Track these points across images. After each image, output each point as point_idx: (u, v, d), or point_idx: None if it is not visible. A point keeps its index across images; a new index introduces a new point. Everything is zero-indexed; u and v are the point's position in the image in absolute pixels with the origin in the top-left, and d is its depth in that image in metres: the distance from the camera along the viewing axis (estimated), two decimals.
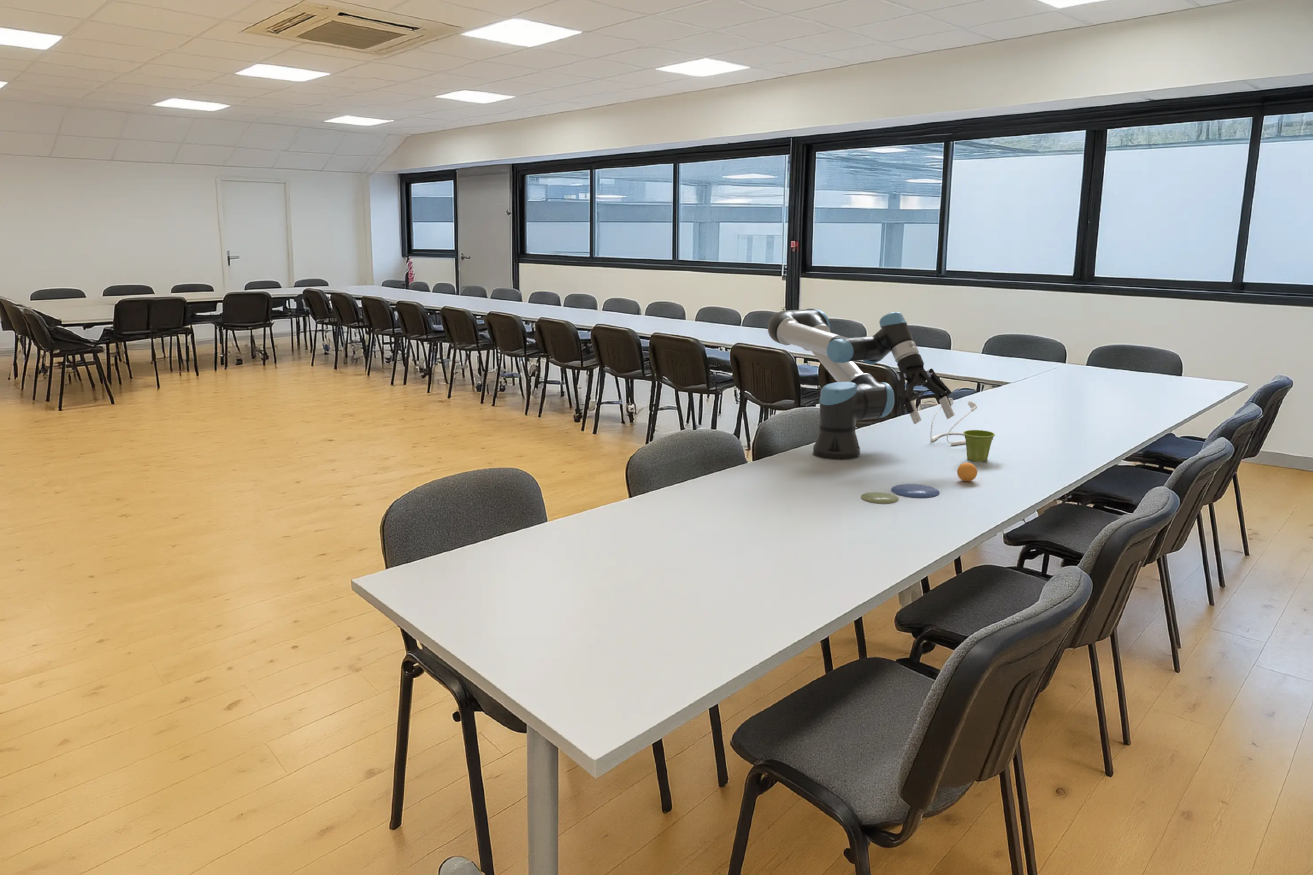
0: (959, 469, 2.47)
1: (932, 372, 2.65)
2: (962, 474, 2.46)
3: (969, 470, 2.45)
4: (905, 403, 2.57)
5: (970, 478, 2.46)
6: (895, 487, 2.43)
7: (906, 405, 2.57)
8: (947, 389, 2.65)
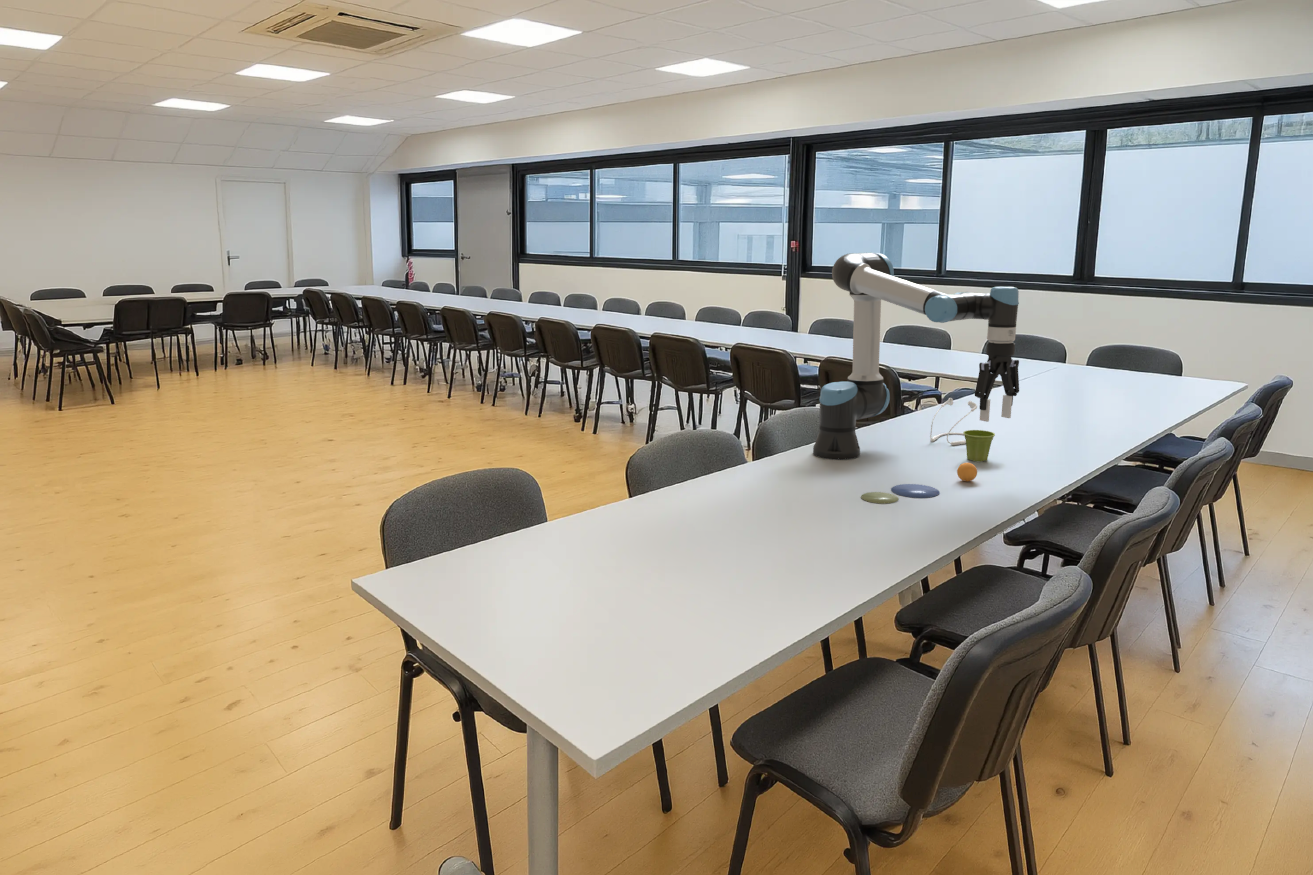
0: (959, 469, 2.47)
1: (1016, 364, 2.47)
2: (962, 474, 2.46)
3: (969, 470, 2.45)
4: (981, 399, 2.45)
5: (970, 478, 2.46)
6: (895, 487, 2.43)
7: (981, 401, 2.45)
8: (1017, 387, 2.49)
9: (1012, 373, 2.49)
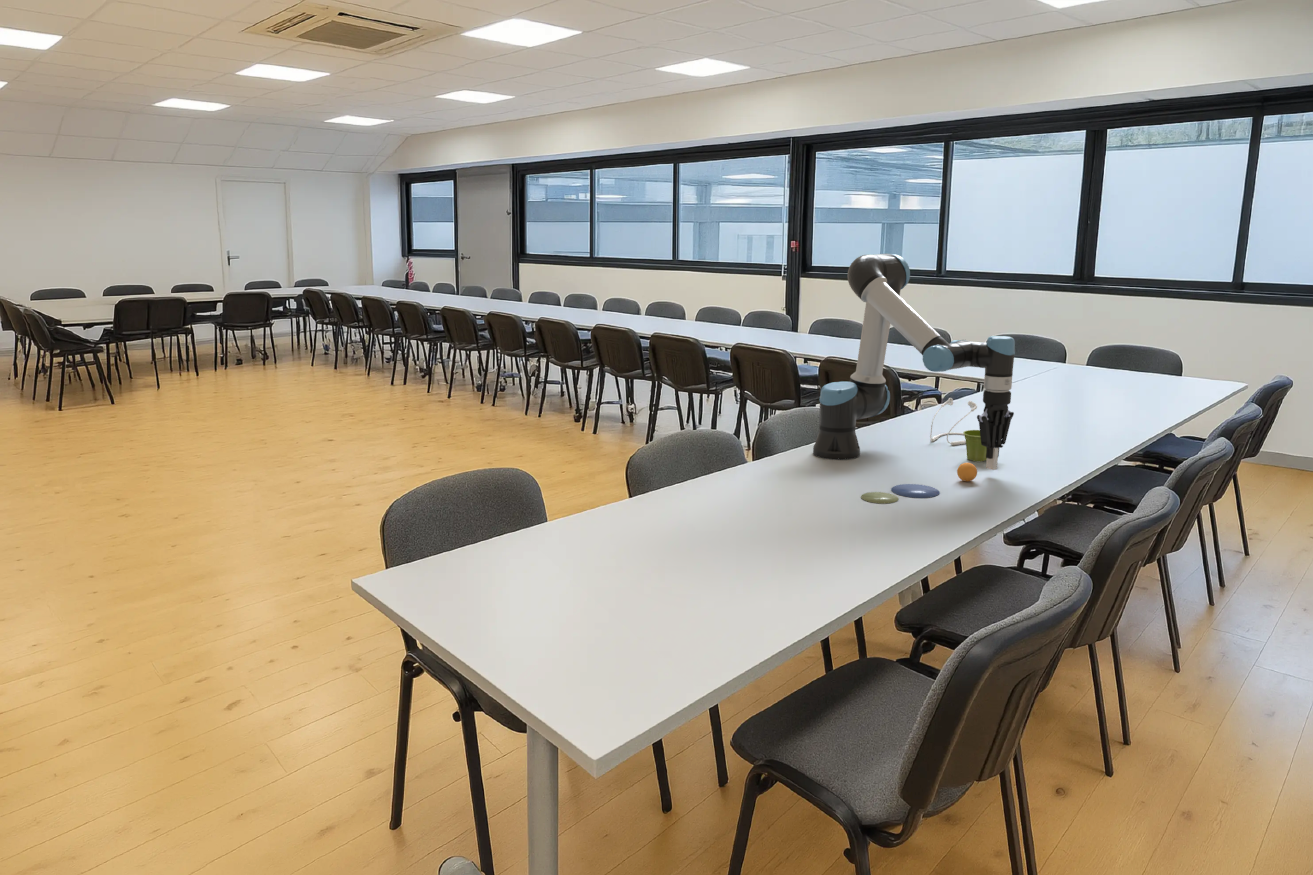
0: (959, 469, 2.47)
1: (1010, 415, 2.50)
2: (962, 474, 2.46)
3: (969, 470, 2.45)
4: (988, 448, 2.50)
5: (970, 478, 2.46)
6: (895, 487, 2.43)
7: (988, 450, 2.50)
8: (1004, 439, 2.51)
9: (1004, 423, 2.51)
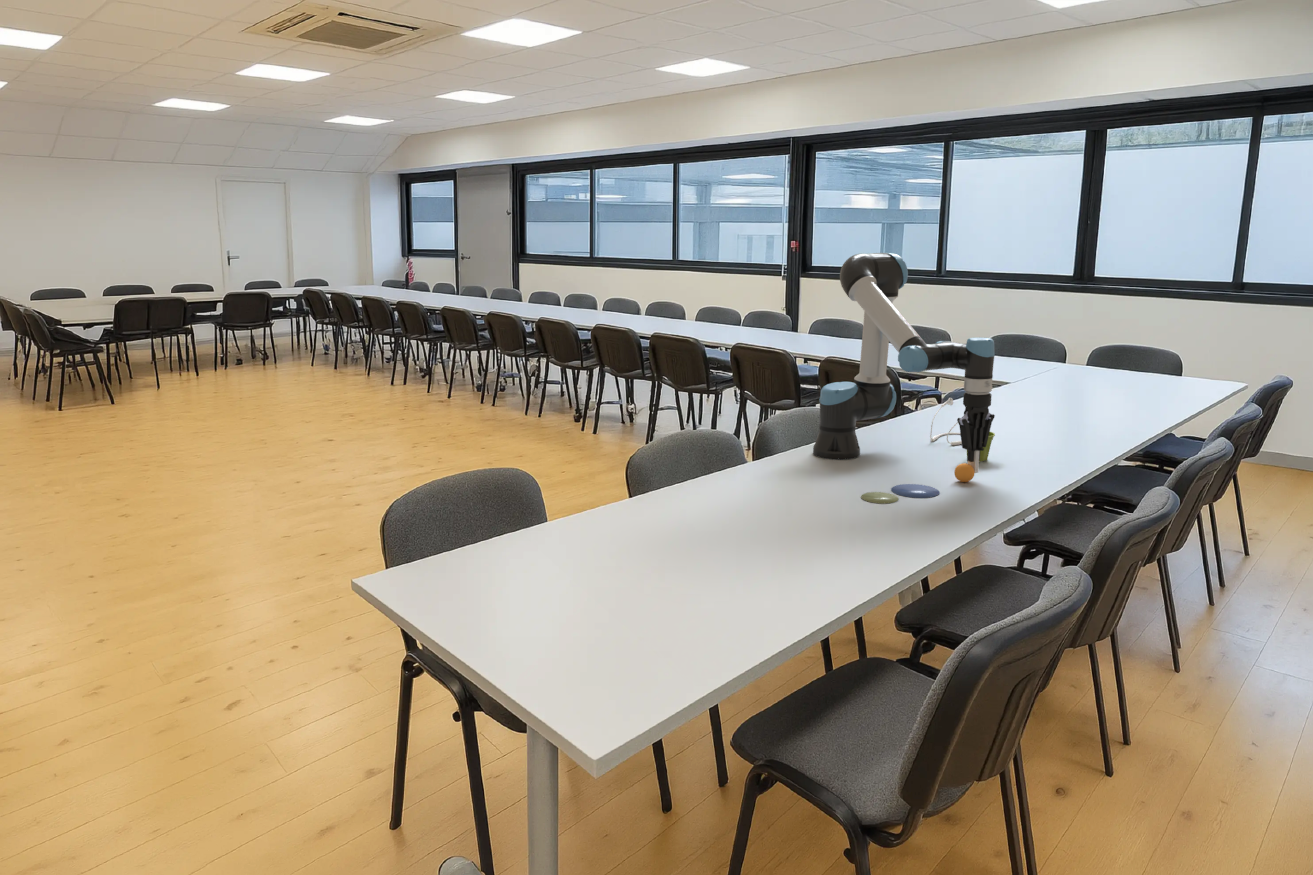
0: (956, 472, 2.47)
1: (991, 418, 2.47)
2: (960, 476, 2.46)
3: (965, 472, 2.45)
4: (969, 451, 2.47)
5: (968, 479, 2.46)
6: (895, 487, 2.43)
7: (969, 453, 2.47)
8: (985, 441, 2.47)
9: (985, 426, 2.48)
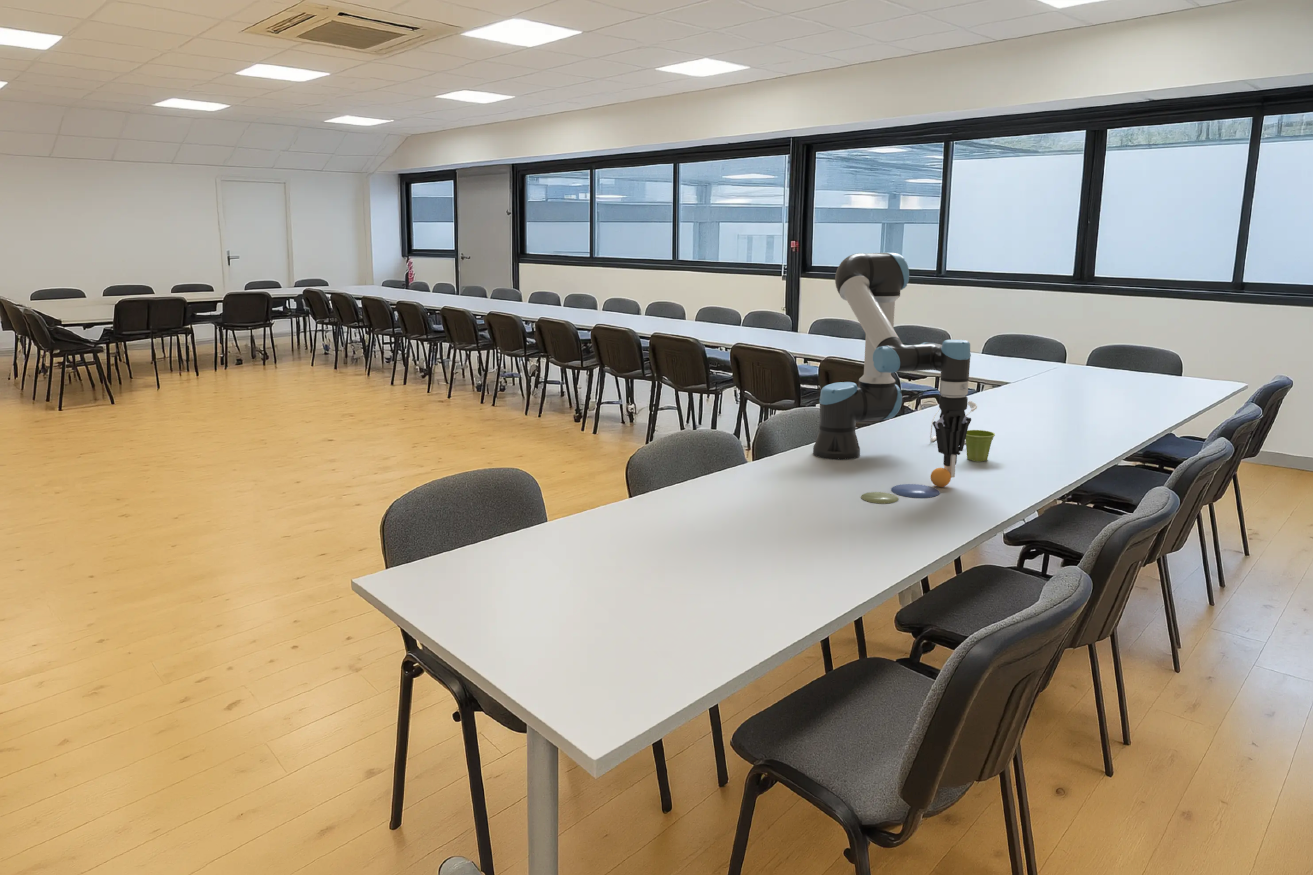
0: (932, 481, 2.43)
1: (968, 421, 2.42)
2: (937, 485, 2.42)
3: (941, 480, 2.40)
4: (945, 455, 2.42)
5: (946, 484, 2.42)
6: (895, 487, 2.43)
7: (945, 457, 2.42)
8: (962, 445, 2.43)
9: (961, 429, 2.43)
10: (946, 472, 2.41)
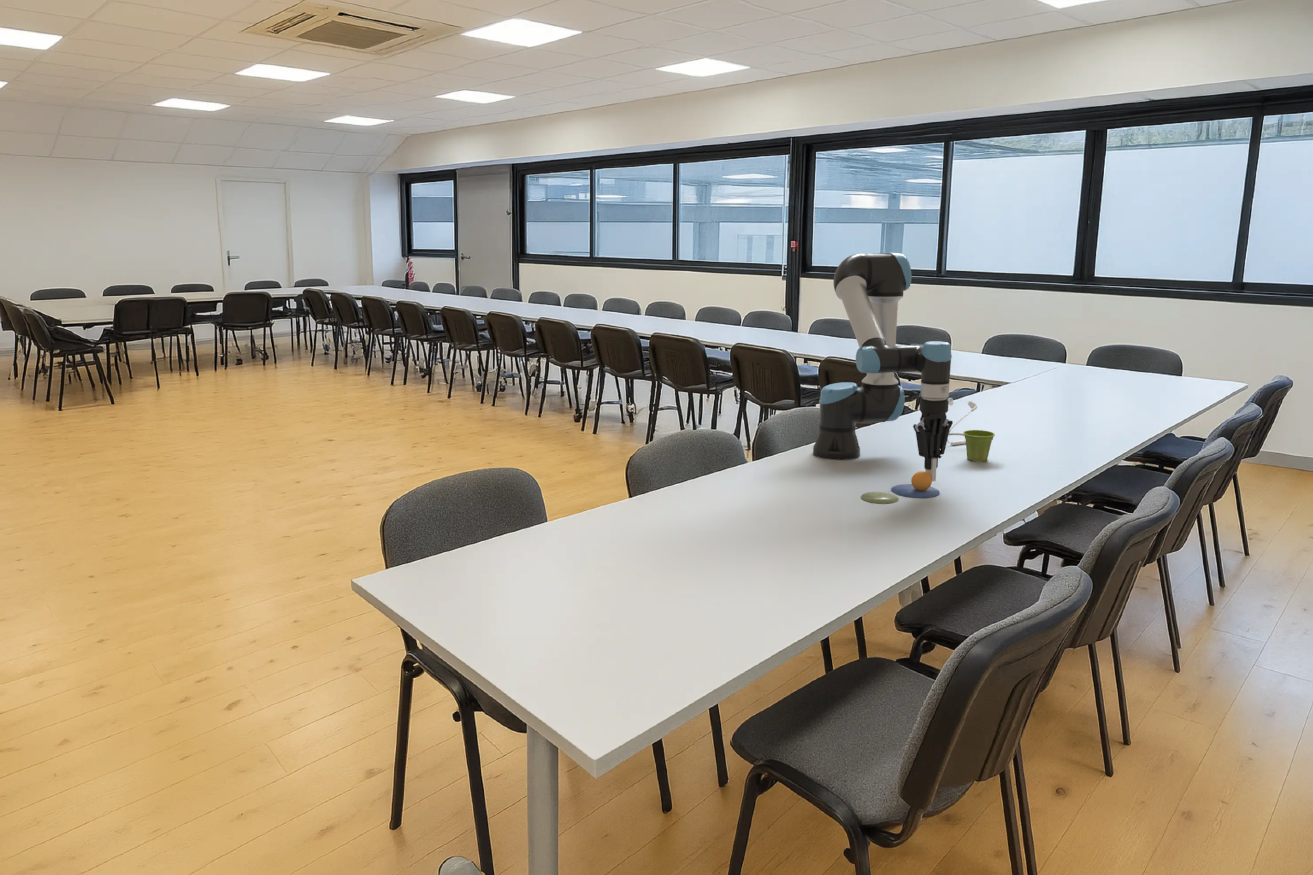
0: (913, 485, 2.39)
1: (949, 424, 2.39)
2: (919, 489, 2.39)
3: (921, 485, 2.37)
4: (926, 458, 2.39)
5: None
6: (895, 487, 2.43)
7: (926, 461, 2.39)
8: (943, 449, 2.40)
9: (942, 433, 2.40)
10: (926, 476, 2.37)
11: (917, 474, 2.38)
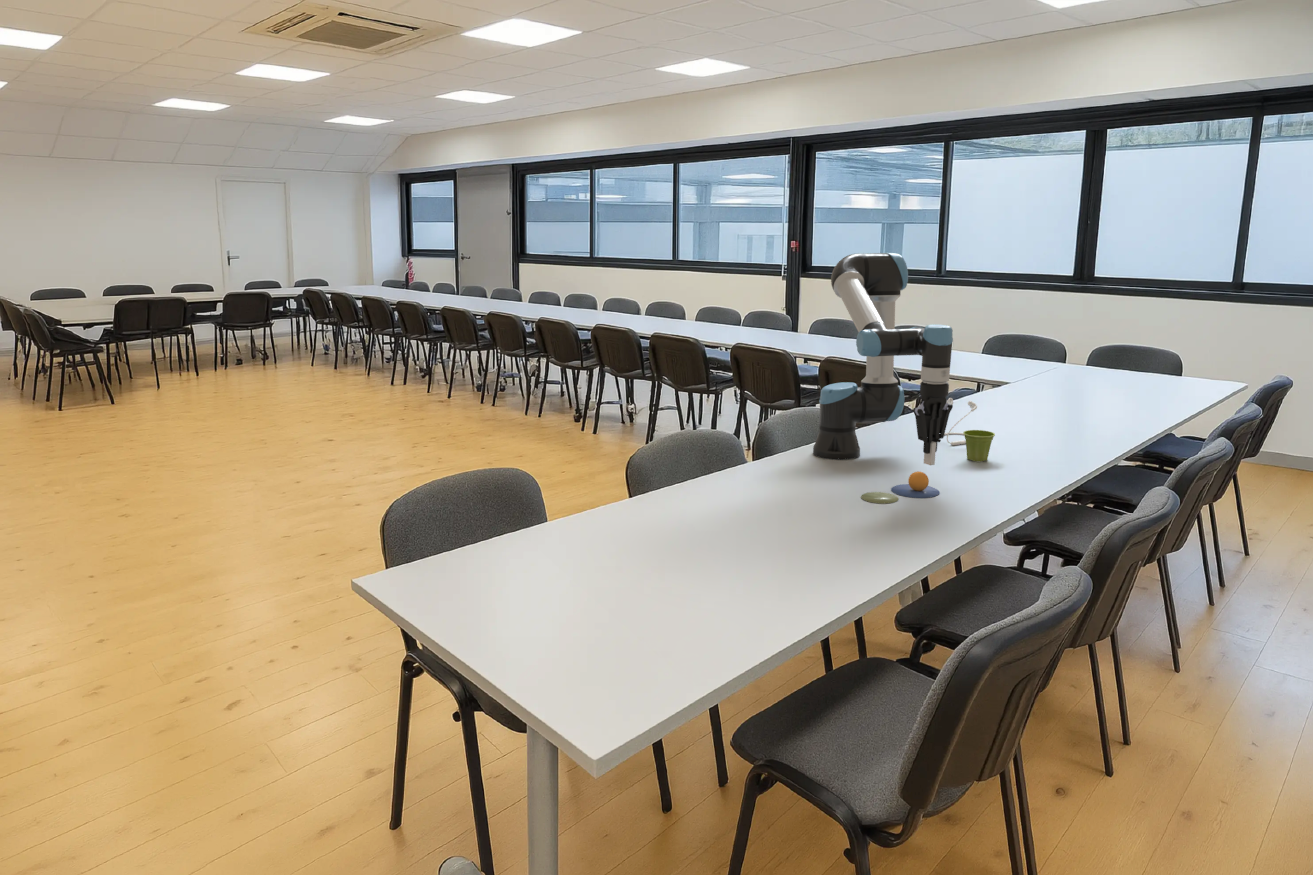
0: None
1: (949, 408, 2.38)
2: (918, 490, 2.39)
3: (919, 486, 2.37)
4: (925, 442, 2.38)
5: (926, 486, 2.38)
6: (895, 487, 2.43)
7: (925, 444, 2.38)
8: (943, 433, 2.39)
9: (942, 416, 2.39)
10: (921, 476, 2.37)
11: (912, 476, 2.38)
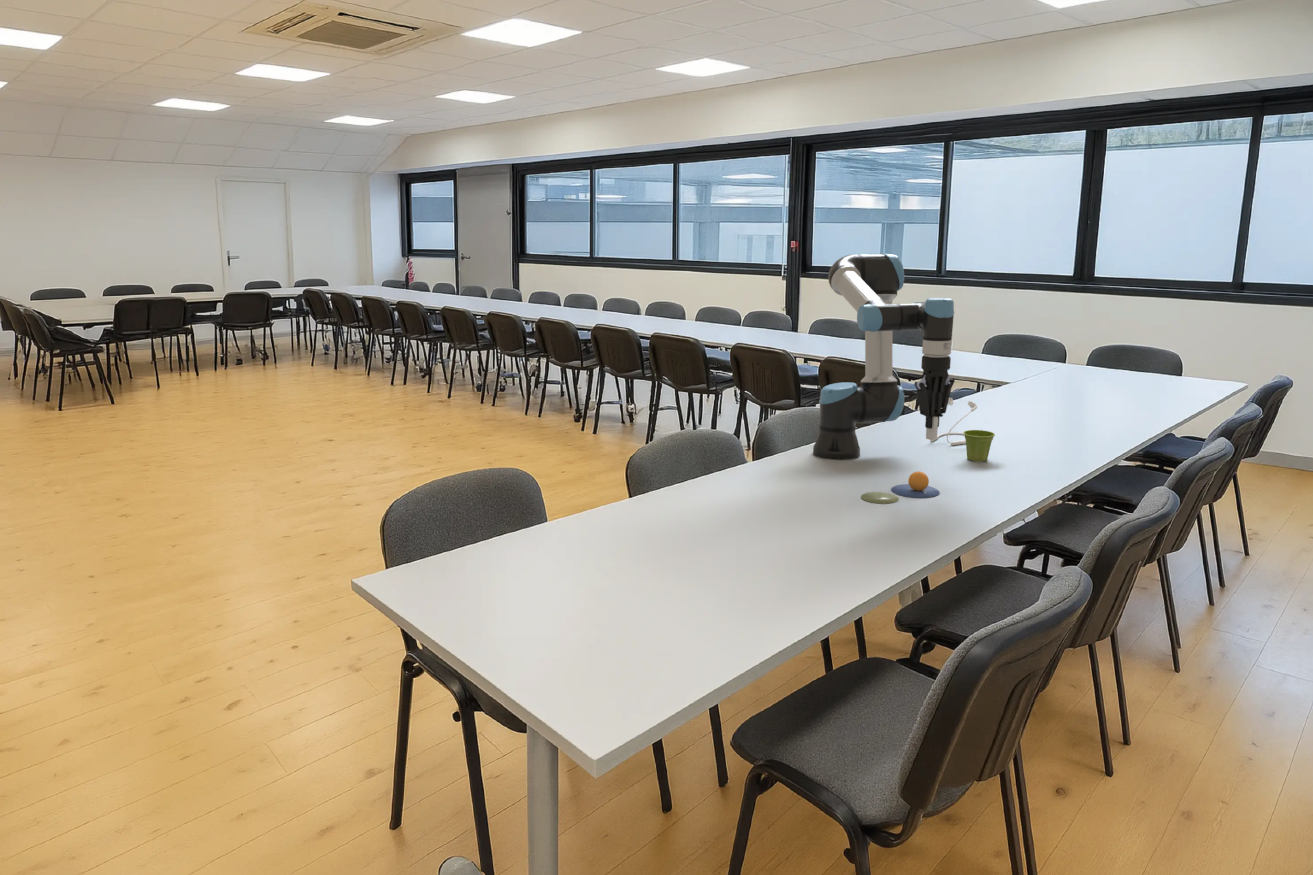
0: None
1: (951, 383, 2.36)
2: (918, 490, 2.39)
3: (919, 486, 2.37)
4: (927, 417, 2.36)
5: (926, 486, 2.38)
6: (895, 487, 2.43)
7: (927, 419, 2.36)
8: (945, 407, 2.37)
9: (944, 391, 2.37)
10: (921, 476, 2.37)
11: (912, 476, 2.38)
